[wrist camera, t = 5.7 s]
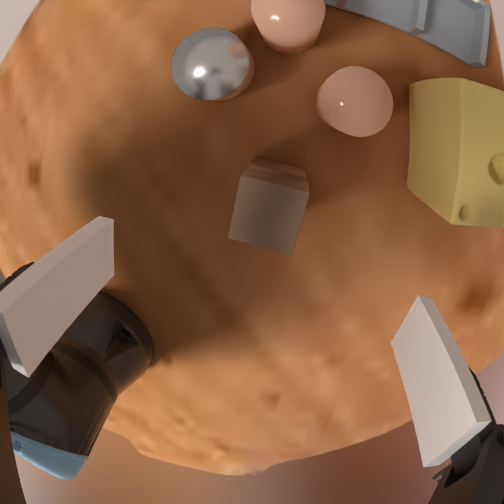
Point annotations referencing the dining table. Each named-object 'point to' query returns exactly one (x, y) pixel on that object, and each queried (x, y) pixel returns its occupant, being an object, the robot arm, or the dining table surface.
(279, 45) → the pale pink egg
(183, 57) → the chrome metal ball
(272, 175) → the walnut post
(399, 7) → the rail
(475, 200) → the cheese
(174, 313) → the dining table surface
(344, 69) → the brown egg
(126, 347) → the robot arm
